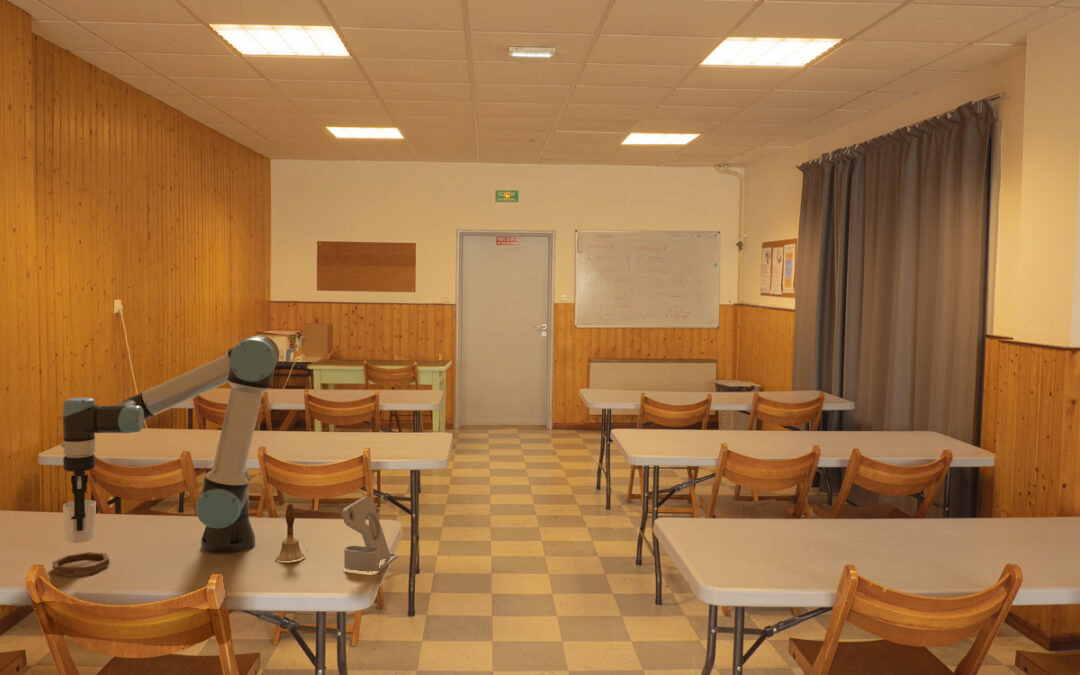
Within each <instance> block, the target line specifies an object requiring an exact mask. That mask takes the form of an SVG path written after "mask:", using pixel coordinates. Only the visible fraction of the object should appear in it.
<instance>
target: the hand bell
mask: <svg viewBox="0 0 1080 675" xmlns="http://www.w3.org/2000/svg"><path fill="white" fill-rule="evenodd" d="M284 515H285V522H286V526H287V528H286V529H287V531H286V538H284V539H283V540H282V542H281V549H280V552H279V553H278V555H277V556H276V557H275V559H276V560H279V561H292V560H297V559H300V558H302V557H304V555H305V554H304V553H303V551H302V549H301V547H300V544H299V539H297V538H295V537H294V523H295V517H296V513H295V509H294V505H293V504H292V503H288V504H287V507H286V510H285V514H284ZM276 560H275V561H276Z"/></svg>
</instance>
